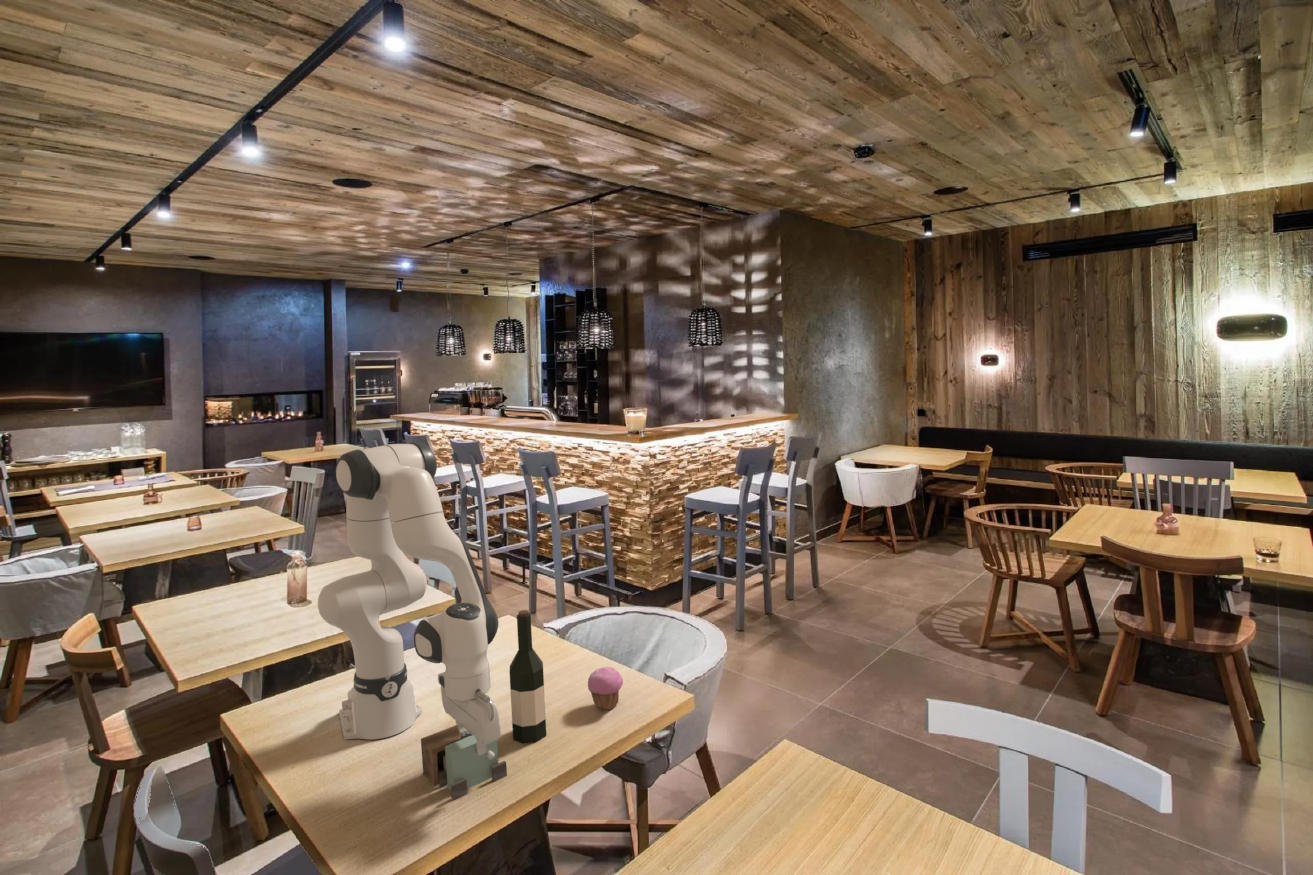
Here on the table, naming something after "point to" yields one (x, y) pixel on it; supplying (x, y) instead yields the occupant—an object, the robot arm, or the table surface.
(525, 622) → the wine bottle
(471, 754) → the door
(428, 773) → the cabinet
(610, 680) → the cupcake
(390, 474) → the robot arm
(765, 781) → the table surface
